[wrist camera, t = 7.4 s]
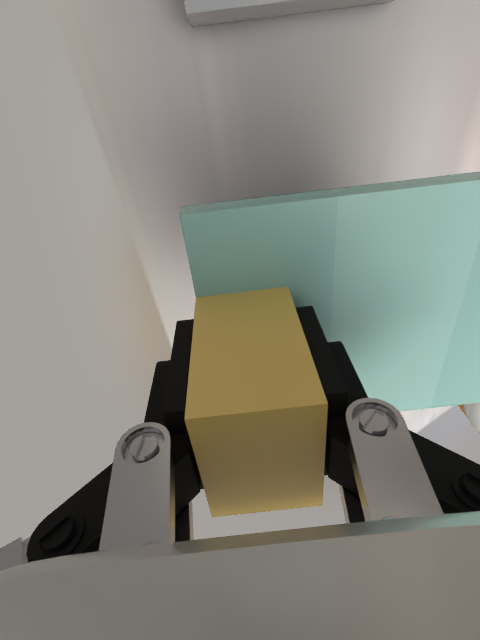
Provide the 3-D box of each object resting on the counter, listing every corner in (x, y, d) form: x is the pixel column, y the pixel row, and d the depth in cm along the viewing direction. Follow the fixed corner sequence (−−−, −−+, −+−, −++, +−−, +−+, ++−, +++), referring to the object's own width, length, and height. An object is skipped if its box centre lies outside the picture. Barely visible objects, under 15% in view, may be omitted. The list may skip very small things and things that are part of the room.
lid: (601, 148, 11) (977, 216, 6) (507, 367, 17) (655, 515, 11) (184, 197, 12) (153, 311, 6) (222, 399, 17) (224, 560, 11)
